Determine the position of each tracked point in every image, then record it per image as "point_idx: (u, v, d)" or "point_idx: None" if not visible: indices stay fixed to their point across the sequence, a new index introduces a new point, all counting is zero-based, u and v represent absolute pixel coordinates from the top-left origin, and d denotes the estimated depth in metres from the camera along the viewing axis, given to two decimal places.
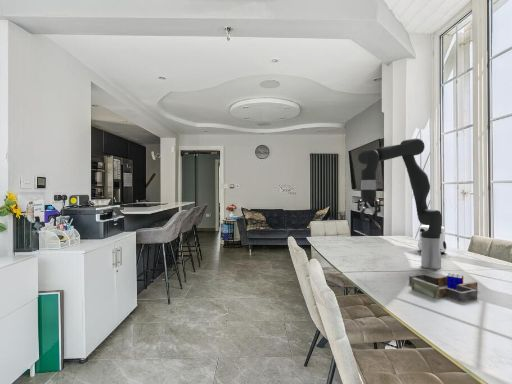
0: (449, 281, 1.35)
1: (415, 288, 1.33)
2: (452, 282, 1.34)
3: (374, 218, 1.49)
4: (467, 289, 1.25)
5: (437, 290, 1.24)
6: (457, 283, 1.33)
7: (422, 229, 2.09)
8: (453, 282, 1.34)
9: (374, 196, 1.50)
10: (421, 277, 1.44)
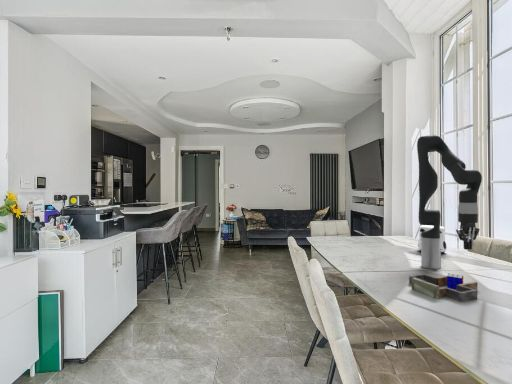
0: (449, 281, 1.35)
1: (415, 288, 1.33)
2: (452, 282, 1.34)
3: (471, 246, 1.39)
4: (467, 289, 1.25)
5: (437, 290, 1.24)
6: (457, 283, 1.33)
7: (422, 229, 2.09)
8: (453, 282, 1.34)
9: None
10: (421, 277, 1.44)
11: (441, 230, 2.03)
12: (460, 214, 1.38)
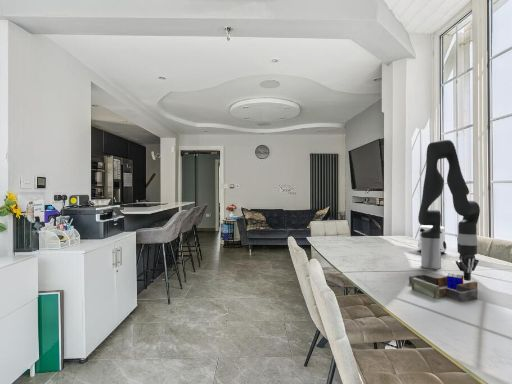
0: (449, 281, 1.35)
1: (415, 288, 1.33)
2: (452, 282, 1.34)
3: None
4: (467, 289, 1.25)
5: (437, 290, 1.24)
6: (457, 283, 1.33)
7: (422, 229, 2.09)
8: (453, 282, 1.34)
9: None
10: (421, 277, 1.44)
11: (441, 230, 2.03)
12: (459, 245, 1.39)
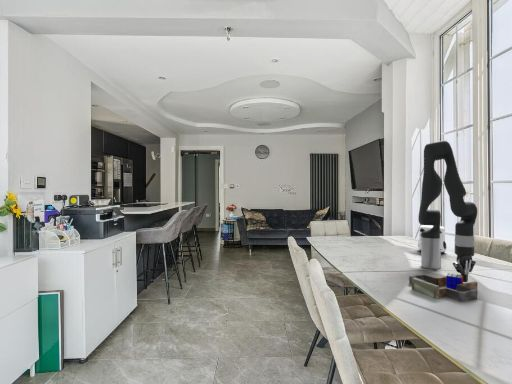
0: (449, 281, 1.35)
1: (415, 288, 1.33)
2: (451, 282, 1.34)
3: None
4: (467, 289, 1.25)
5: (437, 290, 1.24)
6: (456, 283, 1.33)
7: (422, 229, 2.09)
8: (452, 282, 1.34)
9: None
10: (421, 277, 1.44)
11: (441, 230, 2.03)
12: (456, 246, 1.38)
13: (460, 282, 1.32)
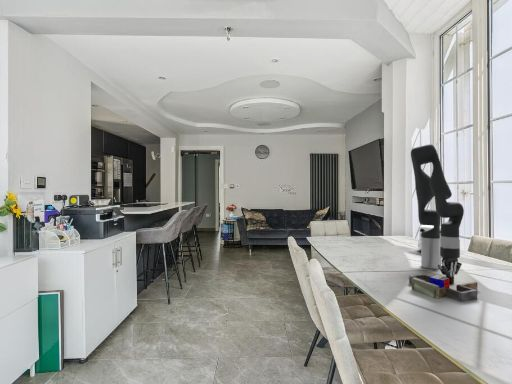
0: (432, 283, 1.33)
1: (415, 288, 1.33)
2: None
3: (453, 281, 1.34)
4: (467, 289, 1.25)
5: (437, 290, 1.24)
6: (439, 285, 1.30)
7: (422, 229, 2.09)
8: (435, 283, 1.32)
9: None
10: (421, 277, 1.44)
11: None
12: (442, 248, 1.34)
13: (442, 284, 1.29)
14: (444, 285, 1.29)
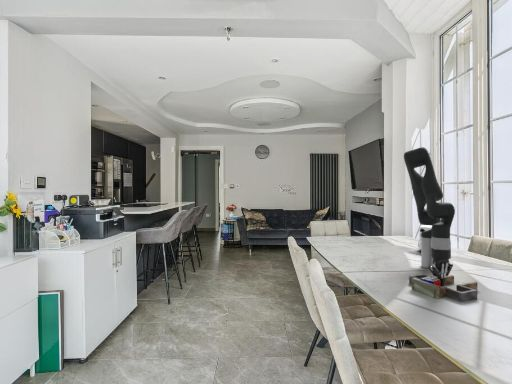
0: None
1: (415, 288, 1.33)
2: None
3: (444, 283, 1.32)
4: (467, 289, 1.25)
5: (437, 290, 1.24)
6: None
7: (422, 229, 2.09)
8: None
9: None
10: (421, 277, 1.44)
11: None
12: (432, 249, 1.32)
13: None
14: None
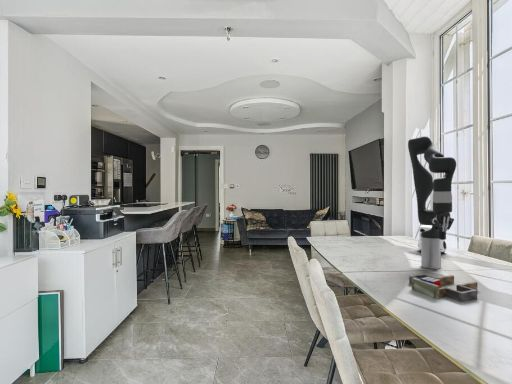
0: None
1: (415, 288, 1.33)
2: None
3: (445, 236, 1.35)
4: (467, 289, 1.25)
5: (437, 290, 1.24)
6: None
7: (422, 229, 2.09)
8: None
9: None
10: (421, 277, 1.44)
11: None
12: (434, 203, 1.34)
13: None
14: None
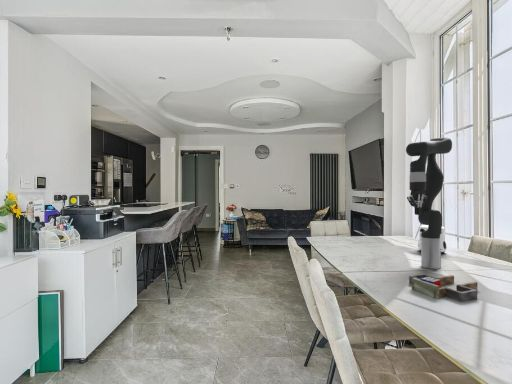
0: None
1: (415, 288, 1.33)
2: None
3: None
4: (467, 289, 1.25)
5: (437, 290, 1.24)
6: None
7: (422, 229, 2.09)
8: None
9: None
10: (421, 277, 1.44)
11: None
12: (410, 183, 1.52)
13: None
14: None
